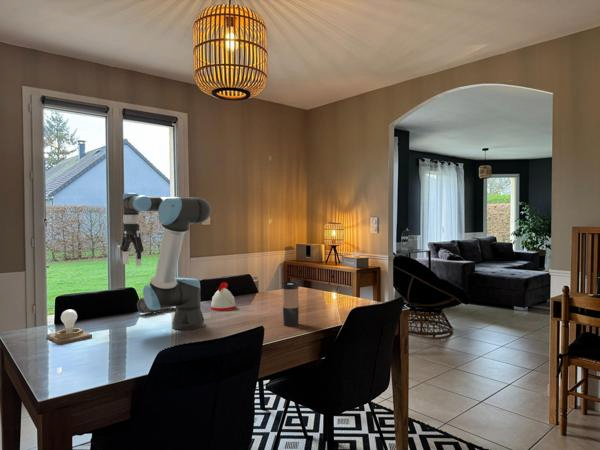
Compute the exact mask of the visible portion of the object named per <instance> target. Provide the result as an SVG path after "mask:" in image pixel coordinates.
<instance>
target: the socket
mask: <svg viewBox="0 0 600 450" xmlns="http://www.w3.org/2000/svg"><path fill="white" fill-rule="evenodd" d="M46 338H47V339H48V340H51V342H54V343H56V344H58V345H60V346H61V345H64V344H69V343H75V342H79V341H84V340H88V339H93V334H92V333H89V332H87V331H85V330H84V329H82V328H80V327H73V333H66V328H65V329H60V330H58V331H56V332H54V333H53V332H51V333H48V334H46Z"/></svg>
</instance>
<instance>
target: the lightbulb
mask: <svg viewBox="0 0 600 450" xmlns="http://www.w3.org/2000/svg"><path fill="white" fill-rule="evenodd" d="M77 319H78V314H77V311H76V310H75V309H71V308H70V309H66V310H64V311H63V312H62V313H61V315H60V320H61V322H62V323H63V325H64V327H65V329H66V333H73V328H74V326H75V323H76V321H77Z"/></svg>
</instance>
